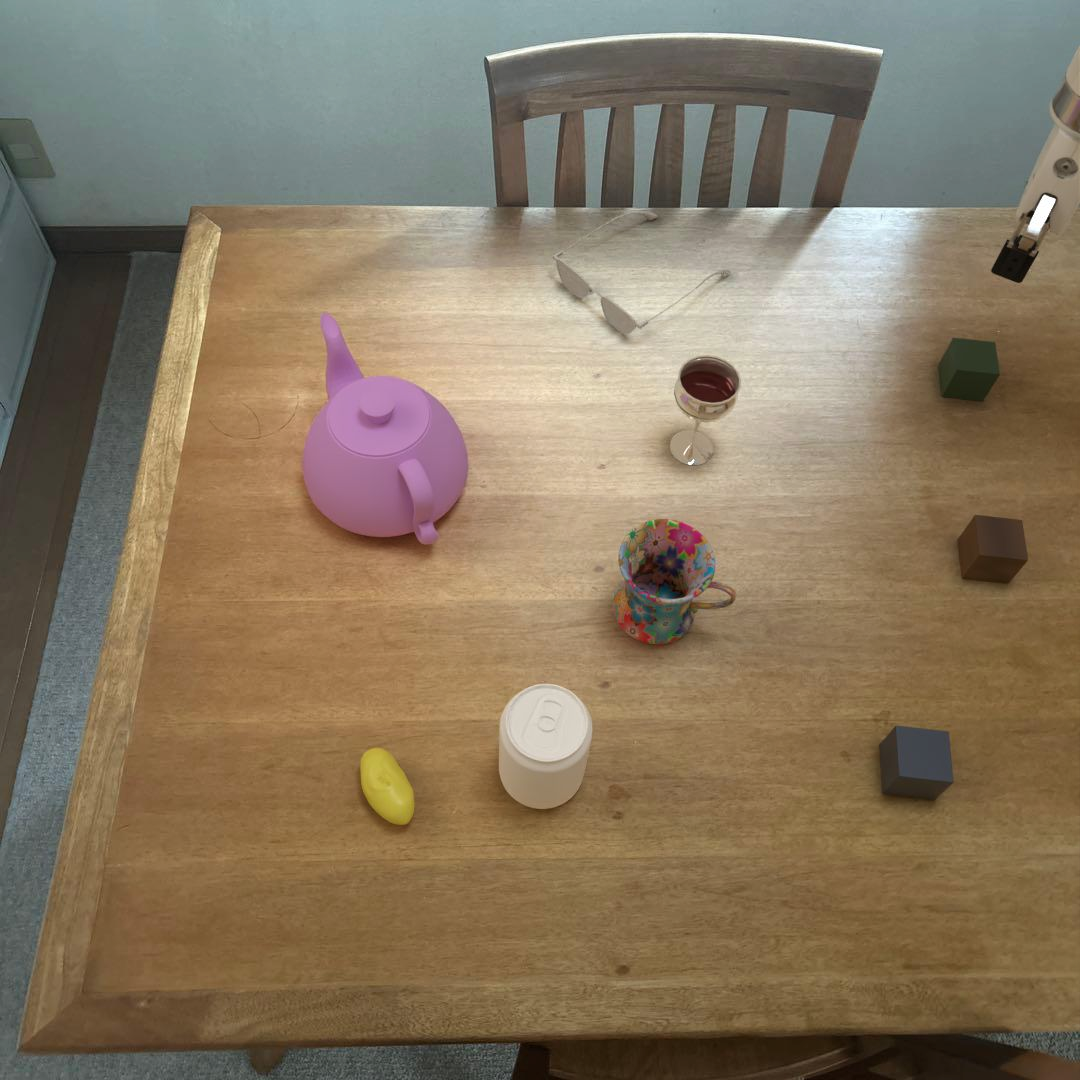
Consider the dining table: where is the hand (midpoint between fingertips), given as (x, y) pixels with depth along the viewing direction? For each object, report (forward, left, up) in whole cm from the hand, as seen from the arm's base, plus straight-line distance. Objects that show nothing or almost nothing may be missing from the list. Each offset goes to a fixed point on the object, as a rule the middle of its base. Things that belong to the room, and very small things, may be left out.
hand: (1019, 247), depth 111 cm
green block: (-2, -1, -22) cm, 22 cm away
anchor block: (+8, +49, -22) cm, 55 cm away
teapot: (+64, +21, -22) cm, 71 cm away
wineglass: (+30, +13, -22) cm, 40 cm away
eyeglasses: (+37, -13, -22) cm, 45 cm away
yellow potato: (+57, +57, -22) cm, 84 cm away
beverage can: (+43, +53, -22) cm, 72 cm away
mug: (+32, +35, -22) cm, 53 cm away
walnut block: (-2, +24, -22) cm, 33 cm away
